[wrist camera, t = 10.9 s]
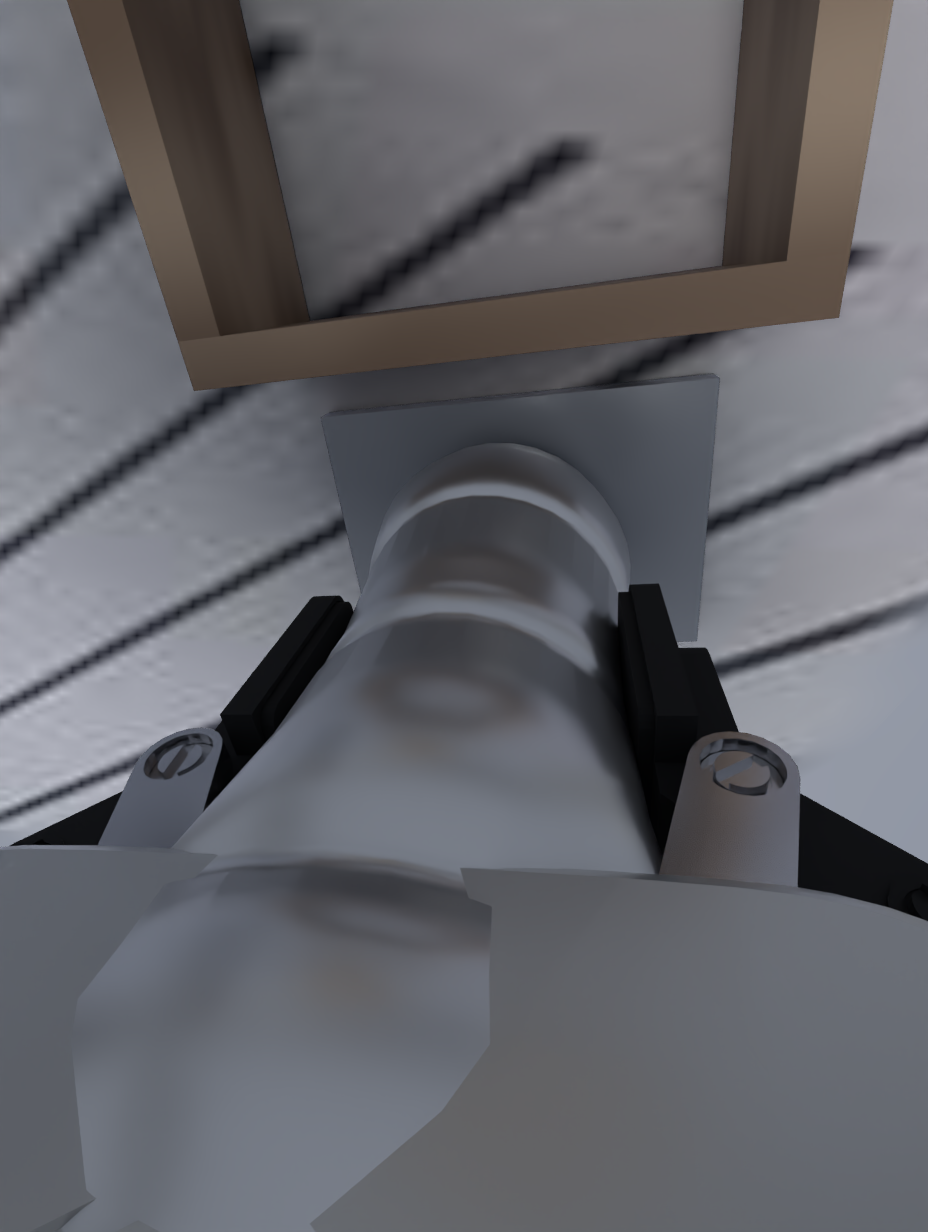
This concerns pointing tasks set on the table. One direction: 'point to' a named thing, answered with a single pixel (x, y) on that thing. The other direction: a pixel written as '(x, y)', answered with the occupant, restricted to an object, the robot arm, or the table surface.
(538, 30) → the table surface
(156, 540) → the table surface
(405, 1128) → the plastic bottle
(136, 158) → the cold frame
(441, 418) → the slate tile
